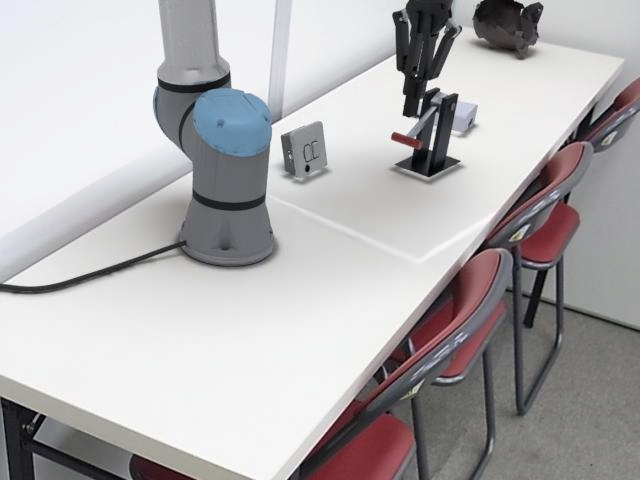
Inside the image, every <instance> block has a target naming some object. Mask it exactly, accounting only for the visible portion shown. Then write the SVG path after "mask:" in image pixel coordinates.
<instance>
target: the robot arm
mask: <svg viewBox="0 0 640 480" xmlns="http://www.w3.org/2000/svg"><path fill="white" fill-rule="evenodd" d="M157 2H158V11H159V12H158V13H159V20H160V27H161V38H162V47H163V54H164V60H163V61H162V63H160V65H159V66H158V67H157V70H156V77H157V86H156V87H155V89H154V92H153V95H152V111H153V116H154V118H155V120H156V123H157V125H158V126H159V129H160V130H161V131H162V133H163V134H164V136H165V137H166V138H167V139H168V140H169V141H170V142H172V143H173V144H174V145H175V146H176V147H177V148H178V149H179V150H180V151H181V152H182V153H183V154H184V155H185V156H186V157H187V158H188V159H189V161H191V162H192V180H191V181H192V186H191V187H192V188H191V200H190V202H189V205H188V208H187V211H186V214H185V219H183V221H182V223H181V226H180V231H179V241H178V242H175V243H172V244H169V245H167V246H163V247H160V248H158V249H155V250H152V251H150V252H146V253H145V254H141V255H139V256H136V257H133V258H131V259H127V260H125V261H122V262H119V263H116V264H113V265H111V266H107V267H104V268H101V269H99V270H95V271H91V272H88V273H85V274H82V275H79V276H75V277H73V278H70V279H66V280H63V281H59V282H56V283H51V284H45V285H32V286H27V285H15V284H7V283H0V290H7V291H13V292H14V291H15V292H27V293H28V292H29V293H32V292H45V291H51V290H56V289H57V290H58V289H61V288H64V287H68V286H71V285H73V284H77V283H79V282H83V281H86V280H89V279H92V278H96V277H99V276H102V275H105V274H108V273H111V272H114V271H117V270H120V269H122V268H125V267H128V266H130V265H133V264H137V263H140V262H142V261H146V260H147V259H150V258H152V257H153V258H154V257H156V256H158V255H161V254H164V253H166V252H167V253H168V252H170V251H172V250H175V249H178V248H181V249H182V251H183V252H184V253H186V255H188V256H189V257H191V258H193V259H194V260H197V261H200V262H203V263H206V264H210V265H214V266H223V267H238V266H239V267H240V266H246V265H251V264H255V263H258V262H260V261H262V260H264V259H266V258H268V257H269V255H271V253H272V252H273V250H274V243H275V242H274V240H275V238H274V237H275V236H274V230H273V227H272V225H271V219H270V215H269V211H268V206H267V203H266V202H267V201H266V200H267V189H268V188H267V187H268V176H269V164H270V152H271V141H272V137H273V127H272V113H271V110H270V108H269V106H268V105H267V103H266V102H265V101H264V100H263V99H261V97H259V96H257V95H256V94H253V93H251V92H248V93H247V92H246V93H245V91H244V90H242V89H238V88H233V87H232V76H231V75H232V74H231V65H230V63H229V62H228V61H227V60H226V59H225V58H223V56H221V54H220V45H219V43H220V42H219V33H218V32H219V30H218V17H217V3H216V0H157ZM453 2H454V0H408V1H407V2H406V3H405V7H404V8H402V9H400V10H396V11H393V12H392V13H391V18H392V22H393V24H394V28H395V30H394V31H395V59H396V60H395V62H396V63H395V64H396V65H395V66H396V70H397V72H400V73H402V74H403V76H404V81H403V88H402V95H403V96H404V97H405V98H404V103H403V106H404V107H403V109H402V116H403V117H406V118H409V119H410V118H412V117H414V116H418V115H417V113H418V107H419V102H421V100H423V98H424V96H425V92H426V91H427V86H428V82H430V81H433V80H435V79H437V78H438V79H439V77H440V75H441V72H442V70H443V68H444V65H445V63H446V61H447V58H448V56H449V53H450V51H451V49H452V47H453V45H454V42H455V41H456V40H455V39H456V38H457V37H459V35H460V34H461V33H462V32H463V26H462V25H460V24H459V25H457V24H456V22H455V21H454V19H452V18H453V11H452V5H453V4H454V3H453ZM409 23H410V24H409ZM443 29H444V30H443ZM442 30H443V36H442V37H441V40H440V42H439V43H438V46H437V41H438V40H439V37H440V33H441V31H442ZM436 46H437V49H436ZM435 50H436V51H435Z"/></svg>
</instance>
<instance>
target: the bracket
mask: <svg viewBox="0 0 640 480" xmlns="http://www.w3.org/2000/svg"><path fill="white" fill-rule="evenodd" d="M437 92H441V88H440V87H438V86H436V87H434V88H430V89H428V90H426V92H425V96H424V98H422V101H421V102H422V106H421V112H420V116H419V118H418V121H419V120H420V119H421V118H422V117H423V116H424V114H425V113H426V112H427V111H428V110H429V109H430V107H431V103H430V101H431V99H432V98H433V97H434V96H435V95H436V94H437ZM459 95H460V94H459V93H456V92H453V93H450V94H448V96H446V97H443V98H442V102H441V108H440V113H439V118H438V123H437V126H436V129H435V135H434V139H433V144H432V149H430V146H431V141H432V135H433V130H434V127H435V126H434V120H435V115H436V113H435V114H434V115H433V117H432V118H431V119H430V120H429V121H428V122H427V124H426V125H425V126H424V127H423V128H422V129H421V131H420V132H419V133H418V134H417V135H416V136H415V139H417V140H420V141H422V142H423V145H422V147H421V149H420V150H418V149H415V148H413V151H412V155H411V156H409V157H407V158H404V159H403V160H401V161H398V162H396V163H394V166H396V167H398V168H399V167H400V168H402V169H404V170H408V171H410V172H413V173H415V174H418V175H421V176H424V177H426V178H431V177H433V176H436V175H437V174H439V173H441V172H443V171H445V170H447V169H449V168H451V167H453V166H455V165H457V164H460V163H461V162H462V160H460V159H457V158H454V157H453V156H449V155H447V154H448V151H449V150H448V149H449V145H450V140H451V135H452V131H453V130H452V125H453V120H454V116H455V111H456V106H457V101H459Z"/></svg>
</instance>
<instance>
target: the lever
mask: <svg viewBox="0 0 640 480" xmlns="http://www.w3.org/2000/svg"><path fill="white" fill-rule="evenodd" d="M448 95H449V94H448V93H446V92H442V91H440V92H437V94H436V95H435V96H434V97H433V98H432V99H431V101H430V103H431V107H430V109H429V110H428V111H427V112H426V113H425V114H424V116H423V117H422V118H421V119H420V120H419V119H418V121H417V122H416V124H415V125H414V126H412V128H411V129H410V130H409V131H408V133H406V135H405V134H402V133H399V132H396V131H393V132H392V134H391V135H390V140H391V141H394V142H395V143H399V144H401V145H404V146H407V147H410V148H413V149H414V148H415V149H418V150H420V149H421V147H422V145H423V142H422V141H420V140H417V139H416V135H417V134H418V133H419V132H420V131H421V129H422V128H423V127H424V126H425V125H426V124H427V122H428V121H429V120H430V119H431V118H432V117H433V115H434V114H435V113H436V112H437V113H440V108H441V102H442V98H443V97H446V96H448Z"/></svg>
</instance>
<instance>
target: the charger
mask: <svg viewBox="0 0 640 480" xmlns="http://www.w3.org/2000/svg"><path fill="white" fill-rule="evenodd" d="M421 106H422V101H420V102H419V107H418V113H417V115H416V116H419V117H420V112H421ZM402 107H403V108H404V105H403V106H402ZM478 107H479V105H478V104H476V103H472V102H471V103H470V102H466V101H462V100H458V101H457V106H456V111H455V116H454V120H453V125H452V130H451V131H454V132H459V133H464V132H465V131H466V130H467V129H468V128H472V127H473V126H474V124H475V122H476V117H477V111H478ZM438 118H439V113H437V112H436V115H435V120H434V126H433V127H437V123H438Z"/></svg>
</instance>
